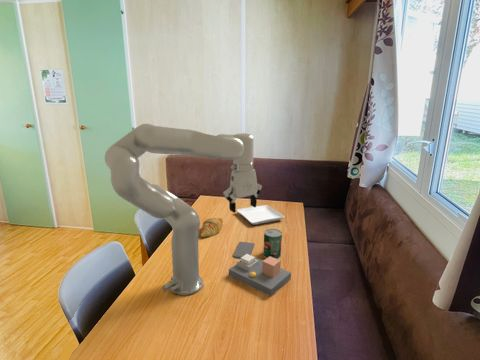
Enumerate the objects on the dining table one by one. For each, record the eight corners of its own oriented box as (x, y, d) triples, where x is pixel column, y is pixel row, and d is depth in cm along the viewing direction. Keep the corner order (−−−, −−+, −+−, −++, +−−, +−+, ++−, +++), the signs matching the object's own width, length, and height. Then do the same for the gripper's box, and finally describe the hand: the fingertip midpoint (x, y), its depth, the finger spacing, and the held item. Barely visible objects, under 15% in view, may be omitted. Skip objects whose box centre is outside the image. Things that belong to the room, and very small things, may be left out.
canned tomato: (284, 255, 139) (285, 233, 136) (272, 261, 134) (273, 238, 131) (271, 248, 145) (272, 227, 142) (259, 254, 140) (260, 231, 137)
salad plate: (235, 214, 185) (235, 208, 184) (266, 209, 194) (266, 204, 193) (251, 228, 167) (251, 222, 166) (285, 222, 176) (285, 216, 175)
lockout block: (272, 277, 118) (273, 265, 116) (262, 272, 121) (262, 261, 119) (280, 271, 121) (280, 260, 120) (269, 267, 124) (269, 256, 123)
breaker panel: (270, 296, 111) (271, 284, 110) (228, 275, 123) (228, 264, 122) (290, 279, 122) (291, 268, 121) (250, 261, 134) (250, 251, 133)
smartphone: (254, 242, 149) (249, 258, 135) (254, 244, 150) (249, 260, 136) (239, 241, 151) (232, 256, 137) (239, 243, 151) (232, 258, 137)
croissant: (206, 246, 153) (213, 235, 150) (190, 234, 155) (197, 223, 152) (224, 228, 172) (231, 218, 169) (210, 218, 174) (216, 207, 170)
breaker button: (248, 265, 122) (248, 261, 122) (240, 262, 125) (240, 257, 124) (254, 261, 125) (254, 257, 125) (246, 258, 128) (246, 253, 127)
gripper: (228, 172, 110) (229, 216, 115) (267, 165, 119) (266, 207, 124) (218, 167, 116) (219, 210, 121) (256, 161, 125) (255, 201, 130)
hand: (243, 208), depth 123 cm, fingers open, 9 cm apart
